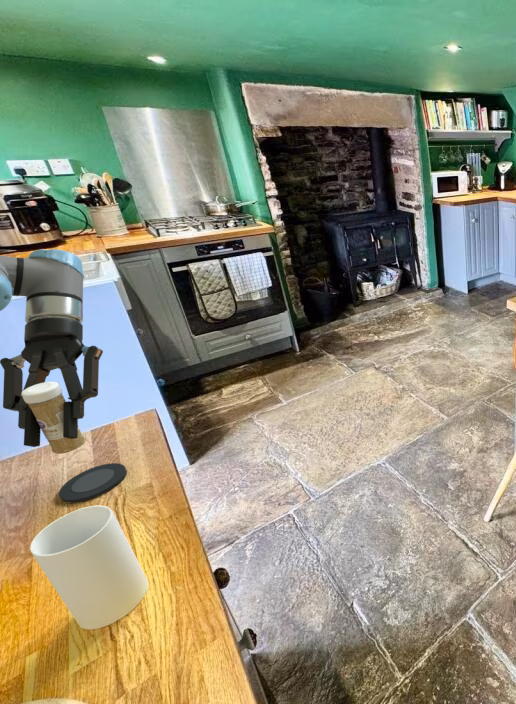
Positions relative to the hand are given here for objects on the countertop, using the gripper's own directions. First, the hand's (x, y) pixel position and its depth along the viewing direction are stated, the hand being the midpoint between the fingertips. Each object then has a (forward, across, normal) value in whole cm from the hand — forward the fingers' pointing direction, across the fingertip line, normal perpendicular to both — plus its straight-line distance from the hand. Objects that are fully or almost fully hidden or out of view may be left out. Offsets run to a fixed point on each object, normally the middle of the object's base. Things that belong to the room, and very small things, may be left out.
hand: (51, 441), depth 72 cm
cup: (+29, -11, +6) cm, 32 cm away
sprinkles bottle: (0, 0, -6) cm, 6 cm away
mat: (+7, +1, -16) cm, 17 cm away
